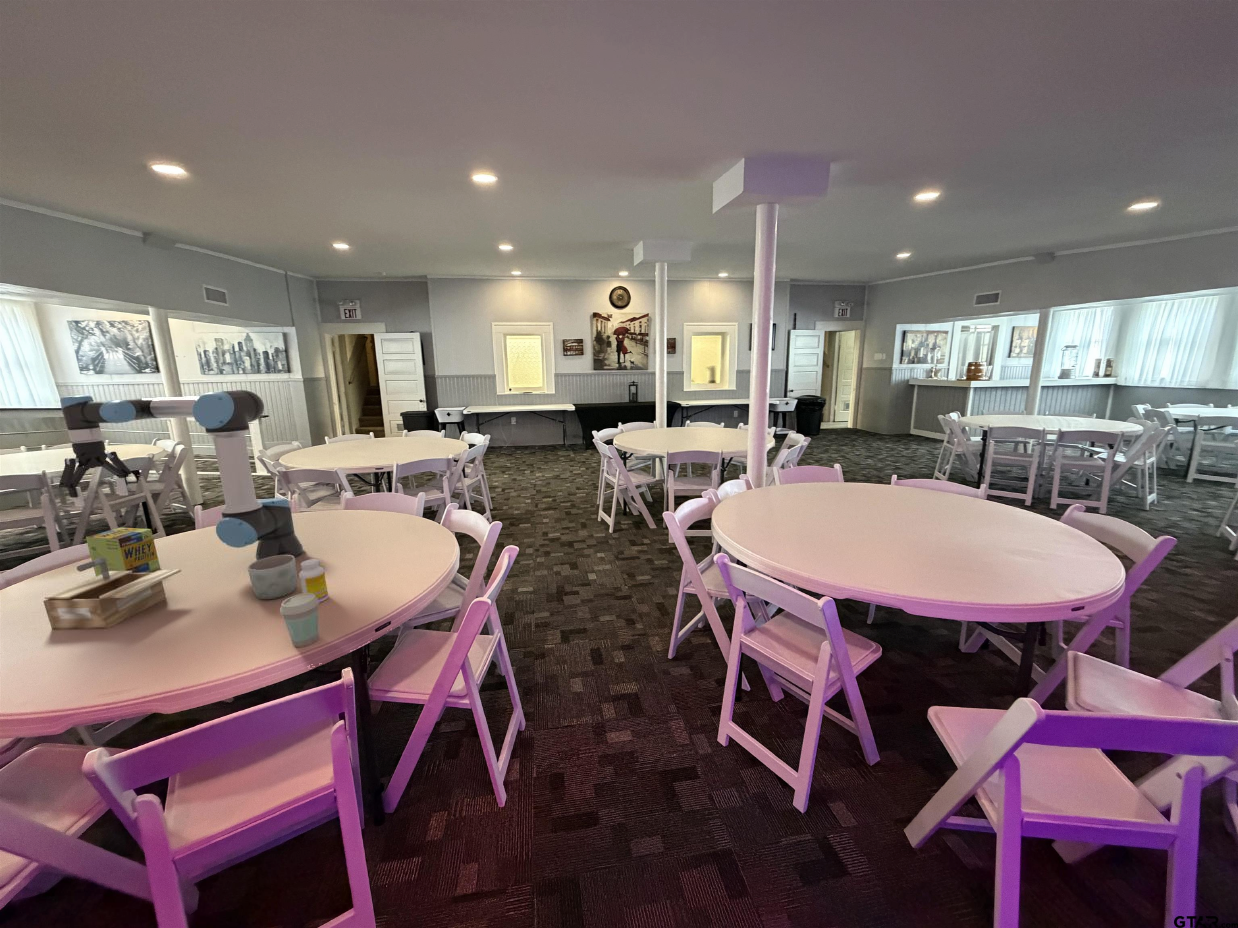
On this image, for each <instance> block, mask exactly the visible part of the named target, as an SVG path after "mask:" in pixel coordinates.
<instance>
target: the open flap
mask: <svg viewBox="0 0 1238 928" xmlns="http://www.w3.org/2000/svg"><path fill="white" fill-rule="evenodd" d="M97 565H100V568H101V572H102V574H101V575H99V576H96V575H95V576H94V577H92V578H90V579H87V580H84V581H81V582H79V583H77V584H74V585H72V586H69V587H67V588H65V589H62V590H60V591H57V592H55V593H52V594H50V595H46V596H44V600H47V599H70V598H72V597H75V596H77V595H79V594H82V593H84V592H87V591H89V590H91V589H94V588H96V587H98V586H101V585H103V584H106V583H108V582H110V581H113V580H115V579H117V578H120V577H122V576H124V575H127V574H129V573H132V571H109V572H108V568H107V564H106V558H104V557H101V558H99V559H96V560H93V561H92V560H90V561H89V562H85V563H83V564H80V565H77V566H76V570H77V571H78V572H79V573H80V572H83V571H85V570H88V569H91V568H94V566H97Z"/></svg>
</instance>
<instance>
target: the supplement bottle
mask: <svg viewBox="0 0 1238 928" xmlns="http://www.w3.org/2000/svg"><path fill="white" fill-rule="evenodd" d="M319 565H320V561H319V559H318V558H312V559H311V558H310V559H307V560H304V561H302V562H301V563H300V568H301V569H302V570H300V572H299V573H298V578H299V583H300V584H299V585H300V588H301V589H300V590H301V594H304V593H312V594H314V595H315V596H316V598H317V599H318V601H319V603H322V602H324V601H326V600H327V599H328V597H329V591H328V585H327V581H326V575H325V569H324V568H323V567H322V566H319ZM319 603H318V604H319Z"/></svg>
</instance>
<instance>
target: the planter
mask: <svg viewBox="0 0 1238 928" xmlns="http://www.w3.org/2000/svg"><path fill="white" fill-rule="evenodd" d="M247 571H248V576H249V580H250V583H251V588H252V590H253V592H254V595H255V596H256V597H257V598H259V599H261V600H274V599H279V598H282V597H285V596H287V595H289V594H291V593H292V592H293V591H295V589H297V586H298V572H297V564H296V557H294V556H292V555H277V556H272V557H267V558H264V559H261V560H258V561H256V560H255V561H254V562H252V563H250V564H249V565H248V566H247Z"/></svg>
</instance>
